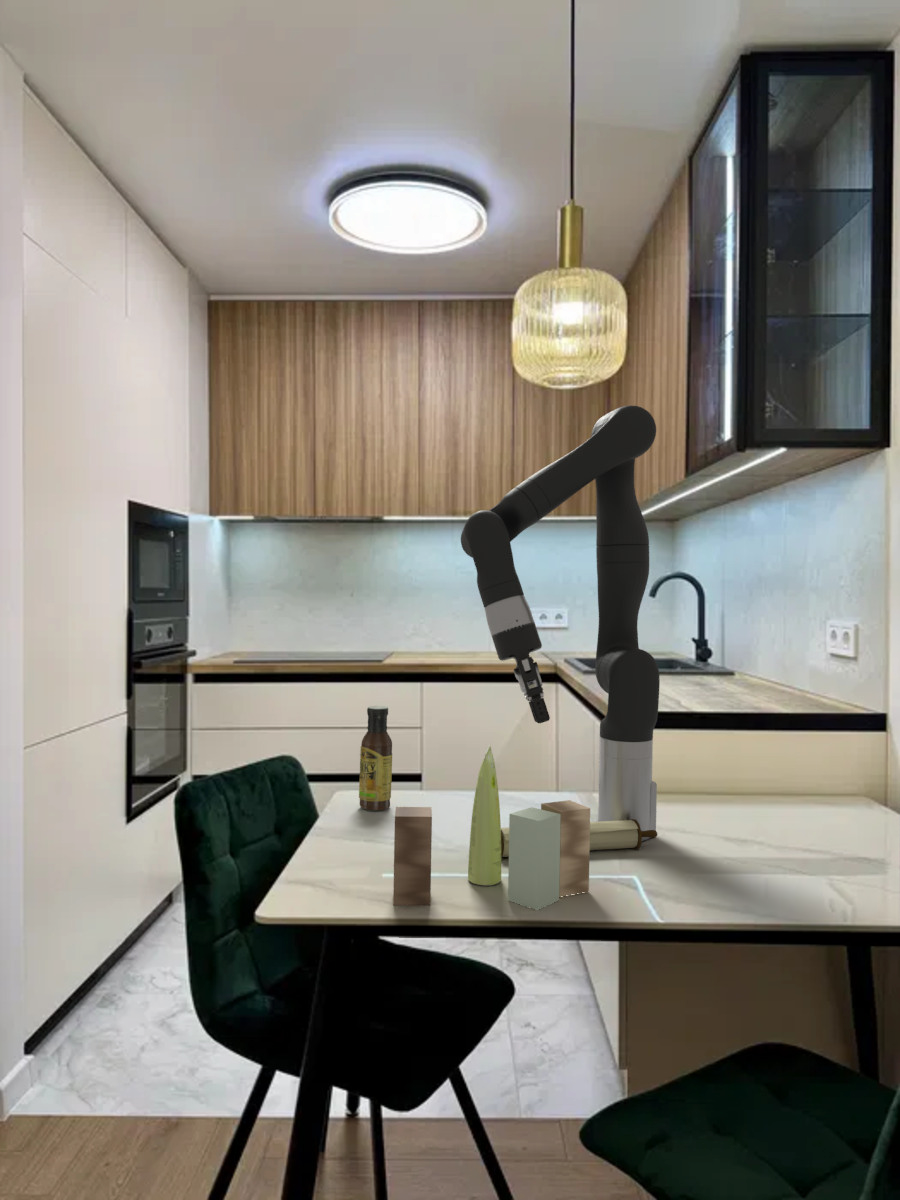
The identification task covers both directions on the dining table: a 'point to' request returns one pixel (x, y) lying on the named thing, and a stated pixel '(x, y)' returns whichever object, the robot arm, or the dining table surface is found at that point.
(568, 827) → the oak block
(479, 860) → the tube
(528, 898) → the sage block
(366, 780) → the sauce bottle
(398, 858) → the walnut block
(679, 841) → the dining table surface
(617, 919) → the dining table surface
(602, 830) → the rolling pin
